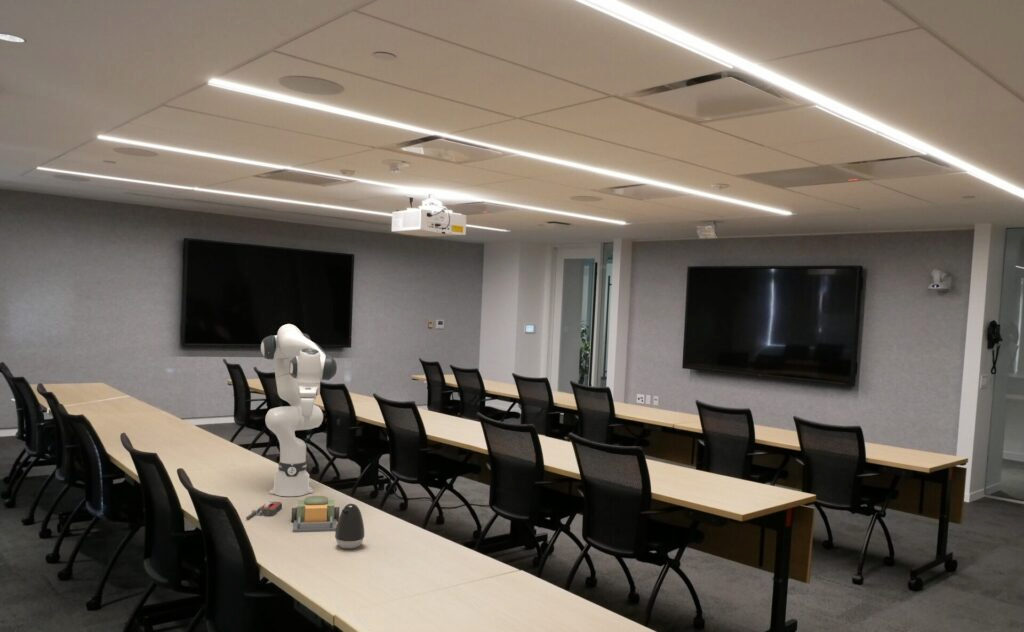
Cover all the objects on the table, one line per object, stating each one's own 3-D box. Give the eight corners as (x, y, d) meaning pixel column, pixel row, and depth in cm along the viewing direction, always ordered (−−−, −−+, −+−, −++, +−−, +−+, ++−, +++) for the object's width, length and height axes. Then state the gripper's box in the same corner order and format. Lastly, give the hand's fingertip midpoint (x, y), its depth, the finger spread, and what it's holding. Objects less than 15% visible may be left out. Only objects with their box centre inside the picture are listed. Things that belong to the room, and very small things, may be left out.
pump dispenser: (328, 548, 252) (330, 505, 252) (344, 540, 262) (346, 498, 262) (353, 553, 249) (355, 509, 249) (369, 544, 259) (371, 502, 258)
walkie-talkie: (262, 507, 300) (243, 521, 280) (263, 497, 300) (244, 510, 280) (283, 508, 300) (266, 522, 280) (284, 498, 300) (266, 511, 280)
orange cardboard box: (304, 523, 276) (305, 505, 276) (327, 522, 278) (327, 504, 278) (304, 527, 272) (305, 508, 272) (327, 526, 274) (327, 508, 274)
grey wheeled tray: (292, 517, 286) (293, 496, 286) (338, 516, 291) (339, 495, 291) (289, 532, 268) (290, 509, 268) (339, 530, 273) (340, 508, 272)
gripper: (300, 386, 295) (299, 420, 295) (299, 392, 275) (297, 429, 275) (316, 387, 297) (315, 420, 297) (316, 393, 277) (314, 429, 277)
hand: (306, 424), depth 286 cm, fingers open, 8 cm apart
